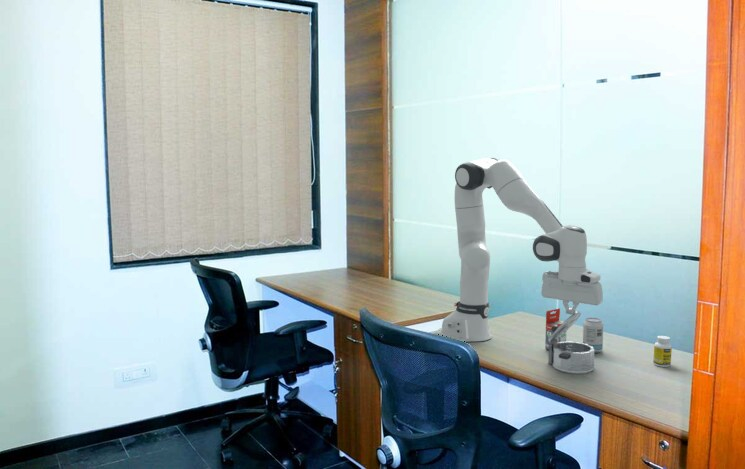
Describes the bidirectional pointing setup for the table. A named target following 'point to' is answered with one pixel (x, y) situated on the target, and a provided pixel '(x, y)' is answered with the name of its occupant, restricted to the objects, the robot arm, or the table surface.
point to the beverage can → (593, 333)
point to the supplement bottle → (662, 351)
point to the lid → (563, 327)
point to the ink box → (550, 322)
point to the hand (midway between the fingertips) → (570, 313)
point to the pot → (571, 357)
